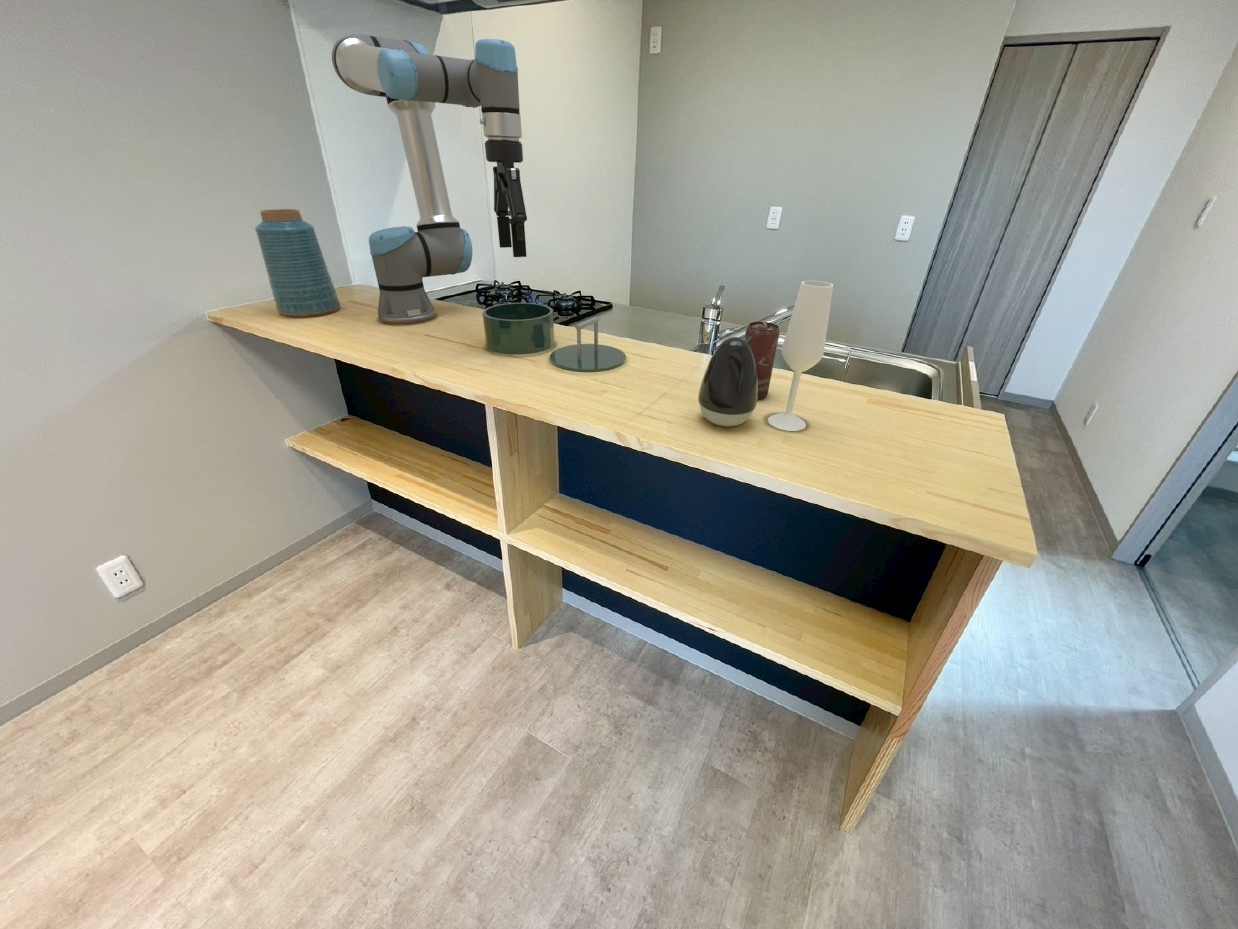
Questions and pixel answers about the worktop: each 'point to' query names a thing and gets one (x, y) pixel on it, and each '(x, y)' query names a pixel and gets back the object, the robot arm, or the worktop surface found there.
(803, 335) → the champagne flute
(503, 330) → the pot
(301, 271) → the vase
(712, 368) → the dark grey egg shape
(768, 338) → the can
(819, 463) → the worktop surface
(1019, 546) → the worktop surface
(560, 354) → the lid
